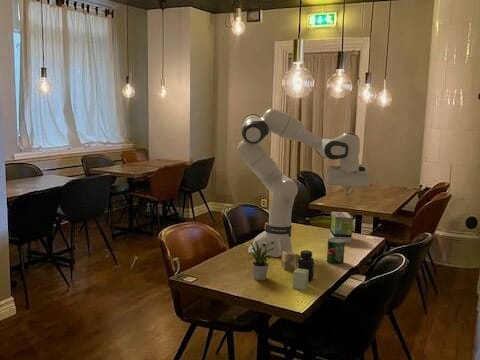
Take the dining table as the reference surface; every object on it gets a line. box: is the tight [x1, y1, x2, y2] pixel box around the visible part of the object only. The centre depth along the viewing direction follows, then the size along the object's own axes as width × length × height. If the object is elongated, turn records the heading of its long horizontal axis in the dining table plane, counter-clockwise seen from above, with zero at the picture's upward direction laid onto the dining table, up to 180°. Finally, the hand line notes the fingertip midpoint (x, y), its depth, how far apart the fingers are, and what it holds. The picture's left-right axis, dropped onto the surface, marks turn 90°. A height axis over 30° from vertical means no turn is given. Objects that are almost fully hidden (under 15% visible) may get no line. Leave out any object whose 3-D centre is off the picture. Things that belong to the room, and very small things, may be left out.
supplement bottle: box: [297, 249, 315, 282], centre depth 203 cm, size 7×7×12 cm
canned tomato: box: [326, 237, 346, 266], centre depth 227 cm, size 8×8×11 cm
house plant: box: [247, 241, 275, 281], centre depth 203 cm, size 14×14×16 cm
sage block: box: [292, 267, 309, 291], centre depth 194 cm, size 5×5×7 cm
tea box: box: [329, 211, 354, 244], centre depth 268 cm, size 15×10×15 cm, turn 178°
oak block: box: [281, 250, 297, 271], centre depth 218 cm, size 5×5×7 cm
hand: (347, 194), depth 233 cm, fingers closed
